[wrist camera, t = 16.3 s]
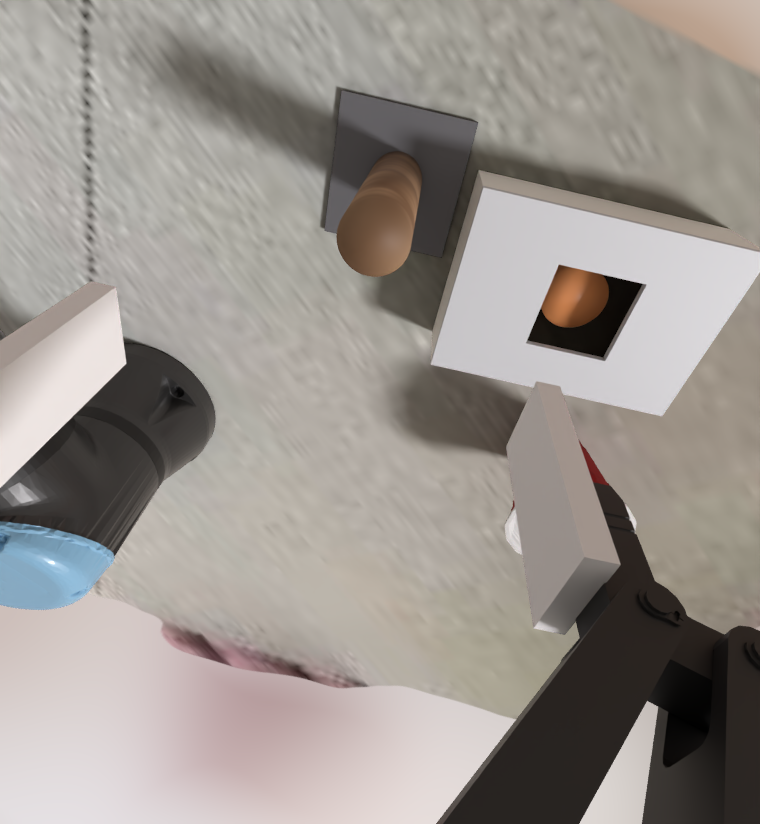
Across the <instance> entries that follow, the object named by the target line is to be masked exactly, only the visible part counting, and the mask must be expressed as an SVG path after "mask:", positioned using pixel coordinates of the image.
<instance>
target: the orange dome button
mask: <svg viewBox="0 0 760 824" xmlns="http://www.w3.org/2000/svg"><path fill="white" fill-rule="evenodd" d="M608 296H609V288H608V284H607V281H606V279H605V278H604V276H603V275H602V274H598V273H594V272H590V271H585V270H581V269H577V268H572V267H568V266H564V265H559V266H558V268H557V270H556V273H555V275H554V278H553V280H552V282H551V285H550V287H549V289H548V292H547V294H546V297H545V299H544V301H543V304H542V306H541V309H542V311H543V314H544V315H545V317H546V318H547V319H548V320H549V321H550V322H552V323H553V324H555V325H557V326H561V327H577V326H581V325H584V324H586V323H588V322H590V321H592V320H593V319H594V318H596V317H597V316H598V315H599V314H600V313H601V311H602V310H603V309H604V307H605V305H606V303H607V300H608Z"/></svg>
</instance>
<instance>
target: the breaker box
mask: <svg viewBox="0 0 760 824" xmlns="http://www.w3.org/2000/svg"><path fill="white" fill-rule="evenodd" d="M559 265H564V266H568V267H572V268H577V269H581V270H585V271H590V272H594V273H598V274H603V275H607V276H611V277H616V278H620V279H624V280H629V281H633V282H637V283H642V284H643V285H642V286H641V288H640V290H639V292H638V294H637V296H636V298H635V299H634V301H633V303H632V305H631V307H630V309H629V311H628V312H627V314H626V316H625V318H624V320H623V322H622V324H621V325H620V327H619V329H618V331H617V333H616V335H615V337H614V338H613V340H612V342H611V344H610V346H609V348H608V350H607V351H606V353H605V355H604V357H599V356H594V355H590V354H586V353H581V352H577V351H572V350H568V349H563V348H559V347H555V346H550V345H546V344H541V343H537V342H532V341H528V340H527V339H528V337H529V335H530V332H531V330H532V327H533V325H534V323H535V320H536V318H537V316H538V313H539V311H540V308H541V306H542V304H543V301H544V299H545V297H546V294H547V292H548V289H549V287H550V285H551V282H552V280H553V278H554V275H555V273H556V270H557V268H558V266H559ZM759 273H760V248H759V247H758V246H756V245H755V244H753V243H752V242H750V241H748V240H747V239H745V238H744V237H742V236H740V235H739V234H737V233H736V232H734V231H733V230H731V229H728V228H723V227H719V226H715V225H711V224H706V223H702V222H698V221H694V220H689V219H685V218H681V217H677V216H672V215H668V214H664V213H660V212H655V211H651V210H647V209H643V208H639V207H634V206H630V205H626V204H622V203H617V202H613V201H609V200H605V199H600V198H596V197H592V196H588V195H583V194H579V193H575V192H571V191H566V190H562V189H558V188H554V187H549V186H545V185H541V184H537V183H532V182H528V181H524V180H520V179H515V178H511V177H507V176H503V175H498V174H494V173H490V172H486V171H481V170H478V174H477V177H476V181H475V184H474V188H473V191H472V195H471V198H470V202H469V205H468V209H467V212H466V215H465V219H464V222H463V226H462V229H461V233H460V236H459V240H458V243H457V247H456V250H455V254H454V257H453V261H452V264H451V268H450V271H449V275H448V278H447V282H446V285H445V289H444V292H443V296H442V299H441V303H440V306H439V310H438V313H437V317H436V320H435V324H434V327H433V331H432V347H431V365H435V366H439V367H444V368H448V369H453V370H457V371H462V372H466V373H471V374H475V375H480V376H484V377H489V378H493V379H498V380H502V381H507V382H511V383H515V384H520V385H524V386H529V387H534V385H535V383H536V381H538V382H543V383H547V384H552V385H556V386H560V387H561V390H562V393H563V394H565V395H569V396H574V397H578V398H583V399H587V400H592V401H596V402H601V403H605V404H609V405H614V406H618V407H623V408H627V409H632V410H636V411H641V412H645V413H650V414H654V415H659V416H663V414H664V413H665V411H666V410H667V408H668V407H669V405H670V404H671V402H672V401H673V399H674V398H675V396H676V395H677V393H678V392H679V390H680V389H681V388H682V386H683V385H684V383H685V382H686V380H687V379H688V377H689V376H690V374H691V373H692V371H693V370H694V368H695V367H696V365H697V364H698V362H699V361H700V360H701V358H702V357H703V355H704V354H705V352H706V351H707V349H708V348H709V346H710V345H711V343H712V342H713V340H714V339H715V337H716V336H717V334H718V333H719V332H720V330H721V329H722V327H723V326H724V324H725V323H726V321H727V320H728V318H729V317H730V315H731V314H732V312H733V311H734V309H735V308H736V306H737V305H738V304H739V302H740V301H741V299H742V298H743V296H744V295H745V293H746V292H747V290H748V289H749V287H750V286H751V284H752V283H753V281H754V280H755V278H756V277H757V275H758V274H759Z"/></svg>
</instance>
